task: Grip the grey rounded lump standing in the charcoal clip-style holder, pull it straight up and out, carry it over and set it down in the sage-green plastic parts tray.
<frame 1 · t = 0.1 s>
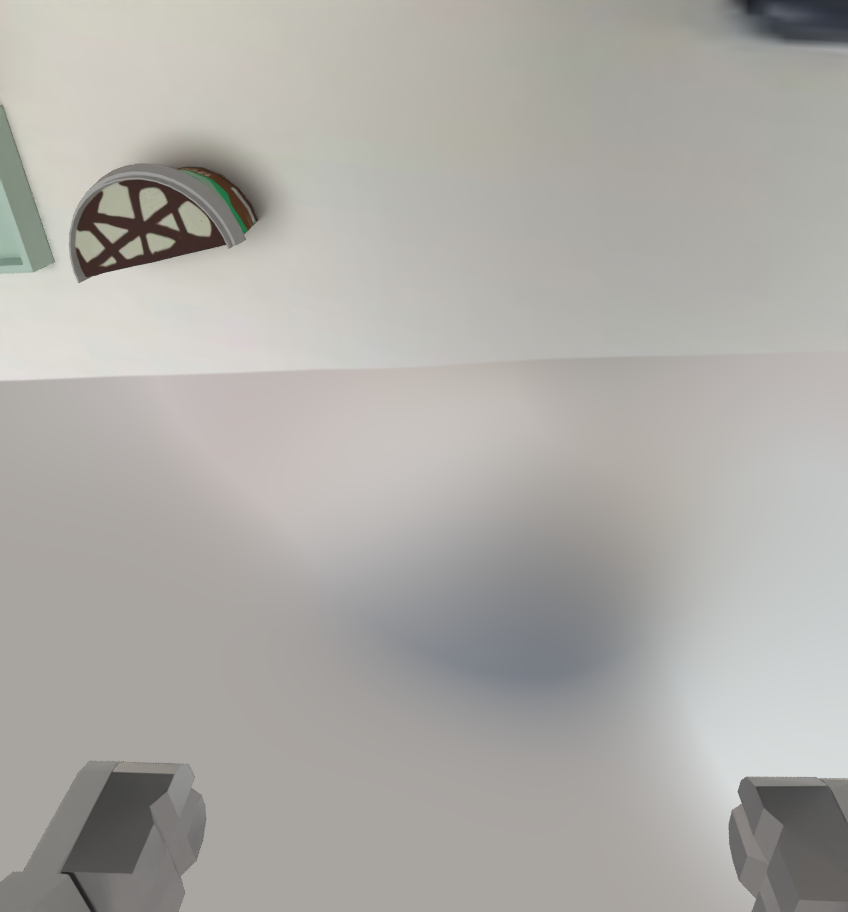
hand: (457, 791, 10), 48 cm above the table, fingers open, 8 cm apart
food container: (189, 193, 52), on the table
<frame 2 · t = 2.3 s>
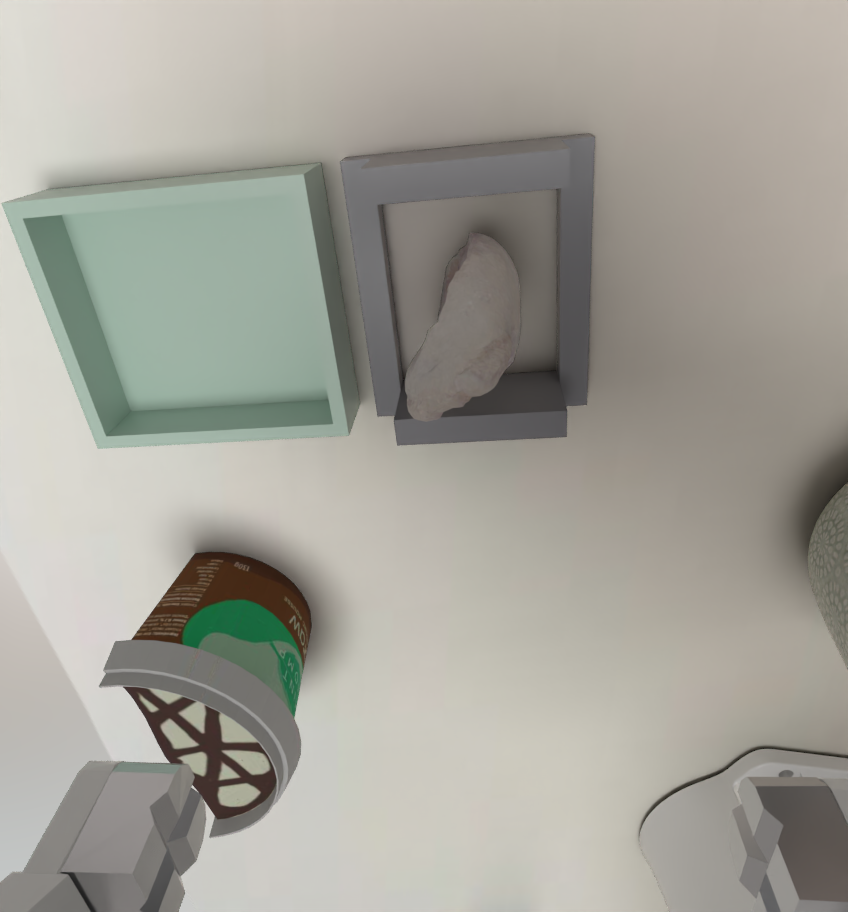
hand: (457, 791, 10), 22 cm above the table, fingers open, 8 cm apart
holder: (473, 284, 28), on the table
food container: (277, 604, 39), on the table
grey rounded lump: (473, 283, 29), resting in holder
tray: (214, 304, 30), on the table
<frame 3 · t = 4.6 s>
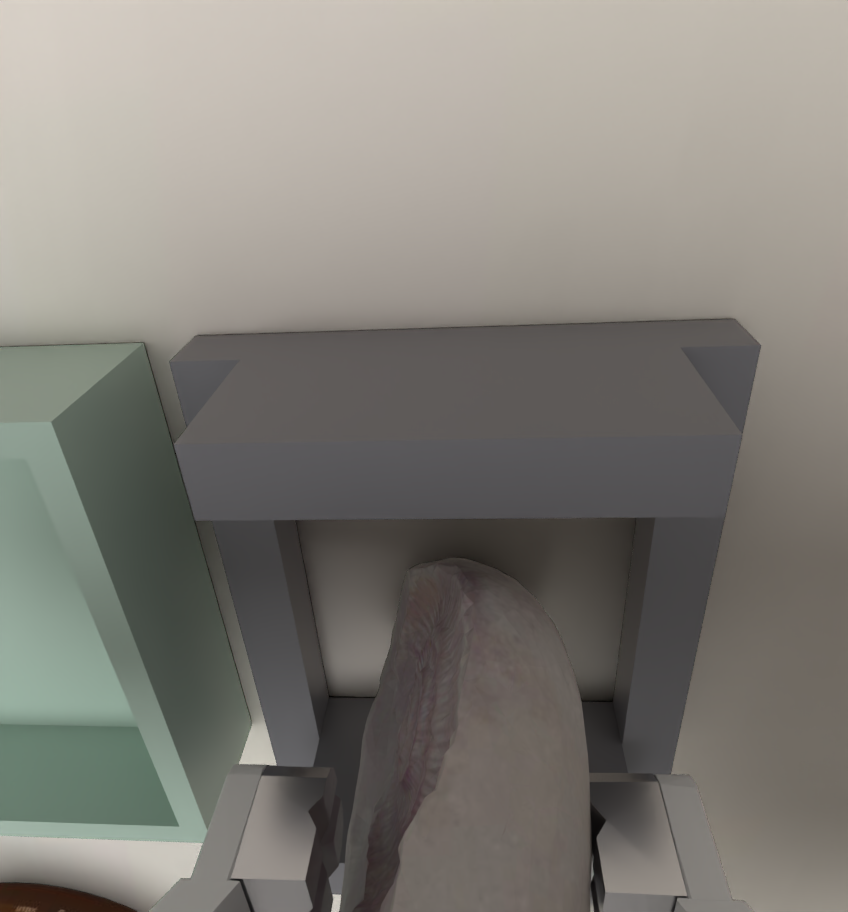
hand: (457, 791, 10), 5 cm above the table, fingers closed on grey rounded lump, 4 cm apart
holder: (463, 567, 14), on the table
grey rounded lump: (463, 562, 15), resting in holder, touching gripper
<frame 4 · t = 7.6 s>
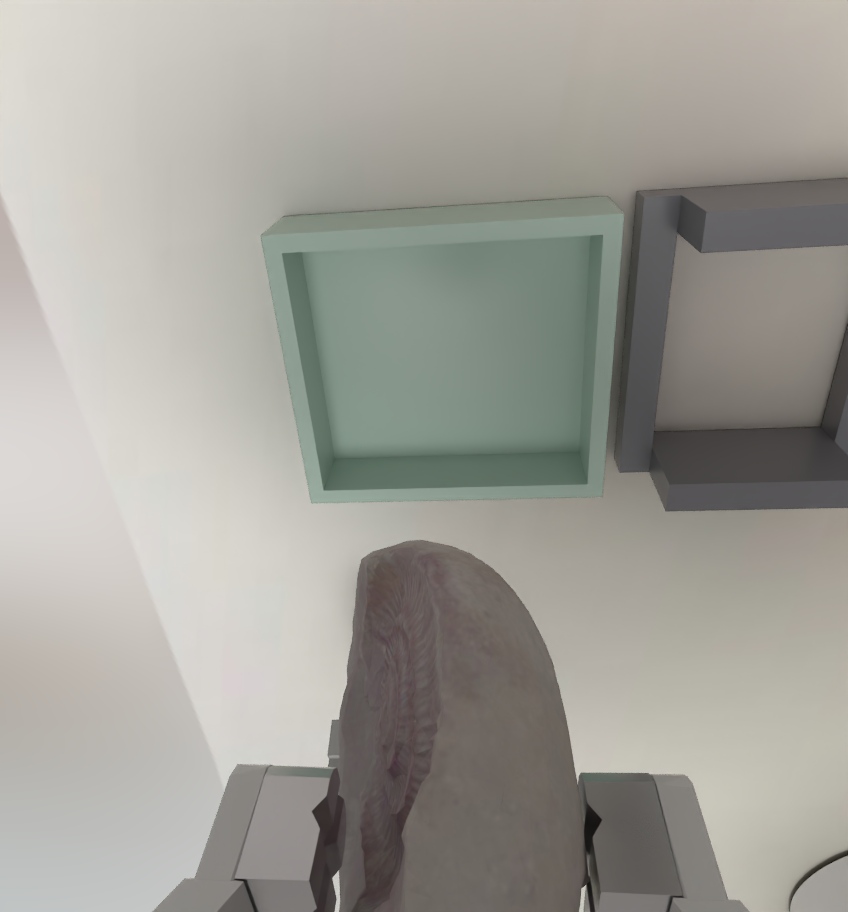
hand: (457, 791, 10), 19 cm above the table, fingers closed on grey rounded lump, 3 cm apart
holder: (750, 333, 26), on the table
food container: (448, 660, 36), on the table
grey rounded lump: (414, 542, 15), point 14 cm above the table, touching gripper
tray: (449, 346, 27), on the table
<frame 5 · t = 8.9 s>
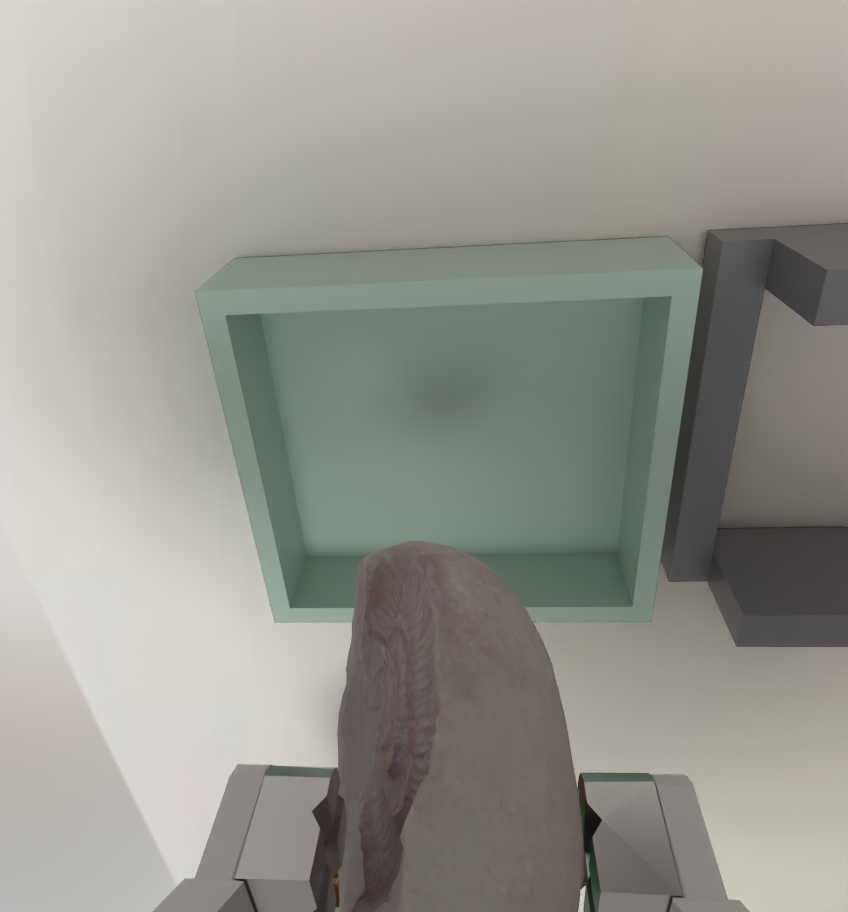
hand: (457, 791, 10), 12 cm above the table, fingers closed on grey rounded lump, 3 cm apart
holder: (845, 411, 20), on the table
grey rounded lump: (414, 542, 15), point 7 cm above the table, touching gripper
tray: (453, 422, 21), on the table
when the fingers open (7 cm above the table, at t = 10.2 s): grey rounded lump drops 1 cm, resting on tray.
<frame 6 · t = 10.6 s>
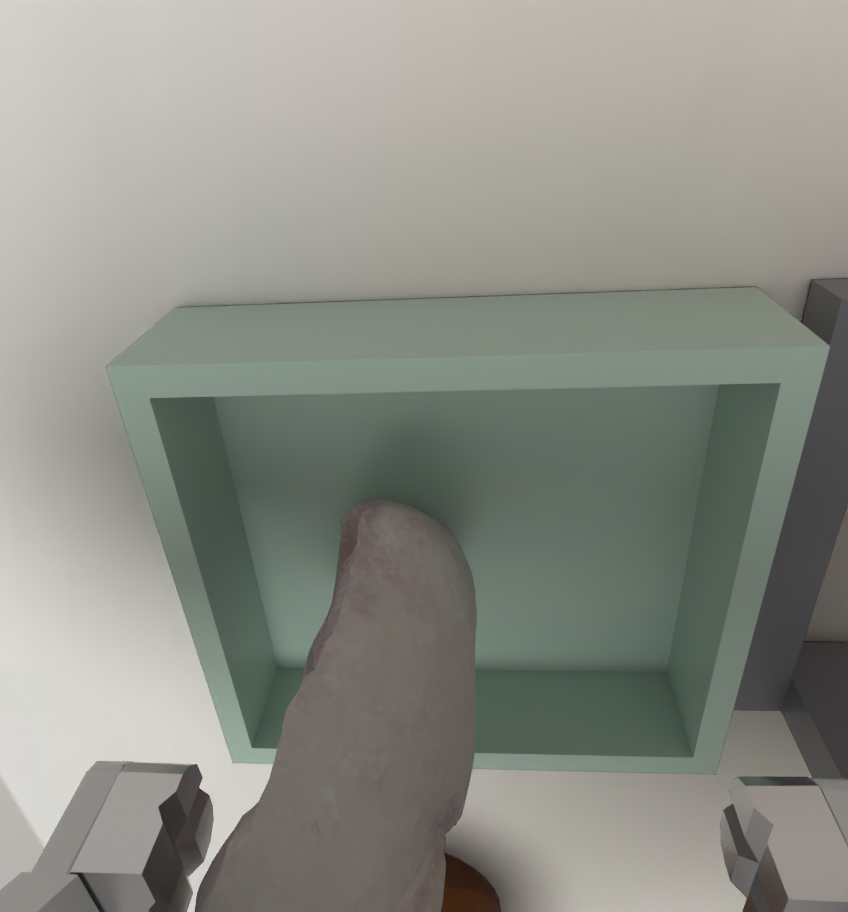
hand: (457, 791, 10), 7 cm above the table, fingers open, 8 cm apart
food container: (449, 895, 25), on the table
grey rounded lump: (403, 513, 16), resting on tray
tray: (462, 513, 16), on the table
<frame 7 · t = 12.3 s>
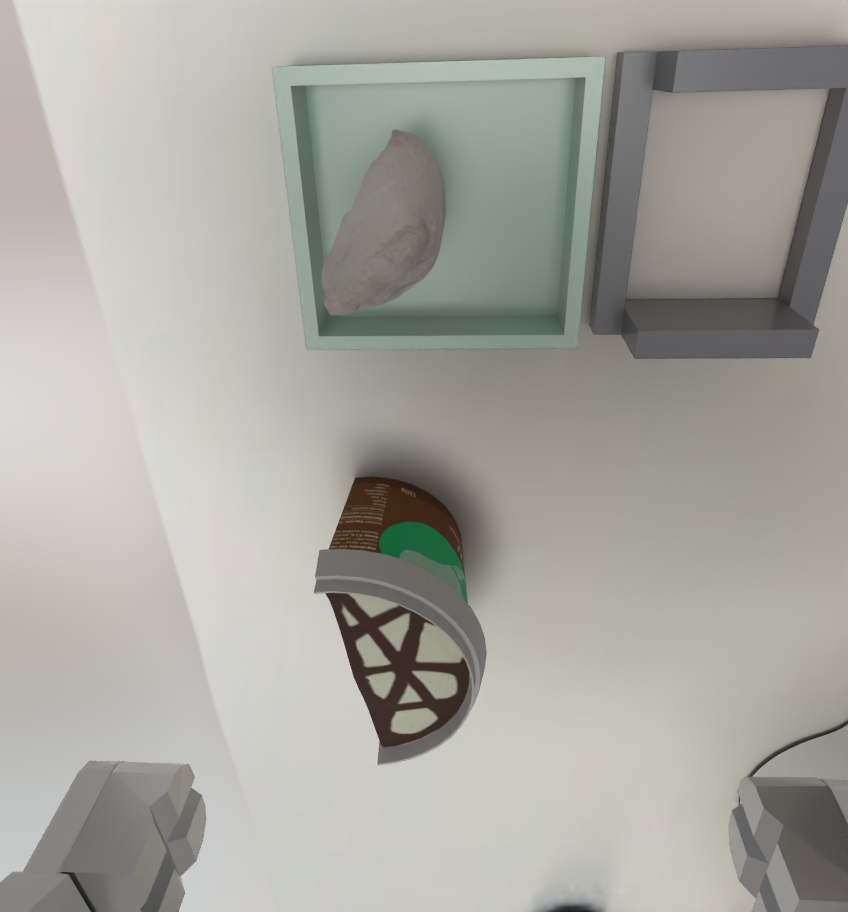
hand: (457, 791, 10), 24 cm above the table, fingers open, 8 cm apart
holder: (716, 200, 28), on the table
food container: (427, 537, 38), on the table
grey rounded lump: (408, 200, 28), resting on tray
tray: (440, 205, 29), on the table
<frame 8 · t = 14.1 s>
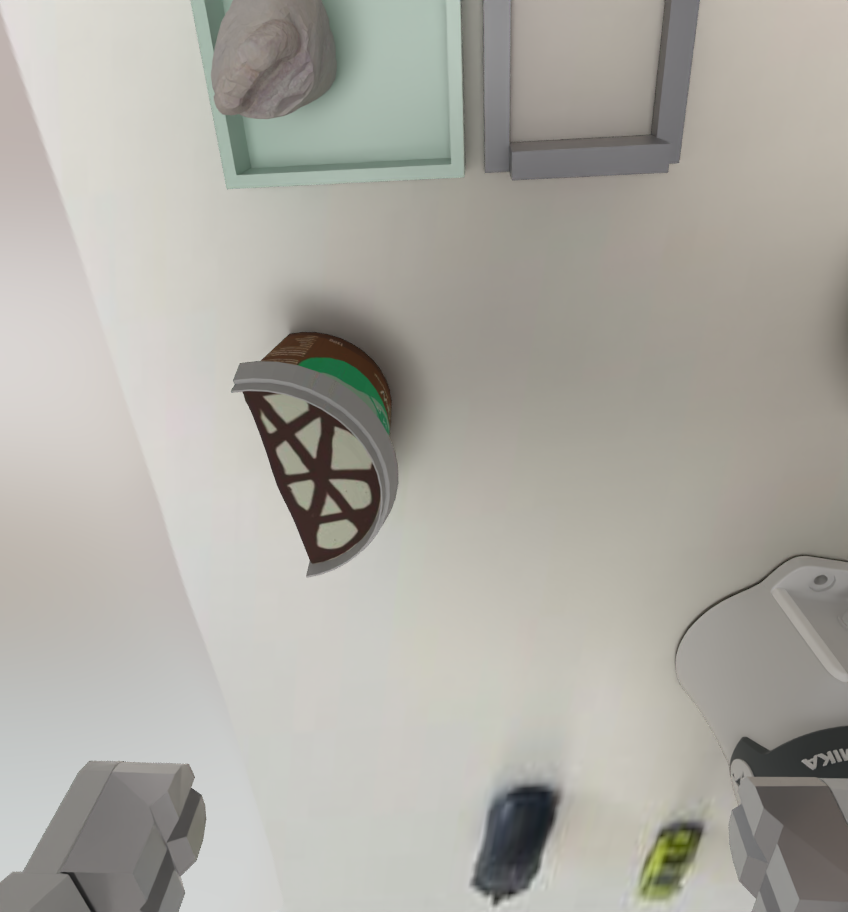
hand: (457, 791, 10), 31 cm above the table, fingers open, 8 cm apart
holder: (584, 39, 31), on the table
food container: (360, 393, 42), on the table
grey rounded lump: (311, 50, 32), resting on tray
tray: (341, 55, 32), on the table
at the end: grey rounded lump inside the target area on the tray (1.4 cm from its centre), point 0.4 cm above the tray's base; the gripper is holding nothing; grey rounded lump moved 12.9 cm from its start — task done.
